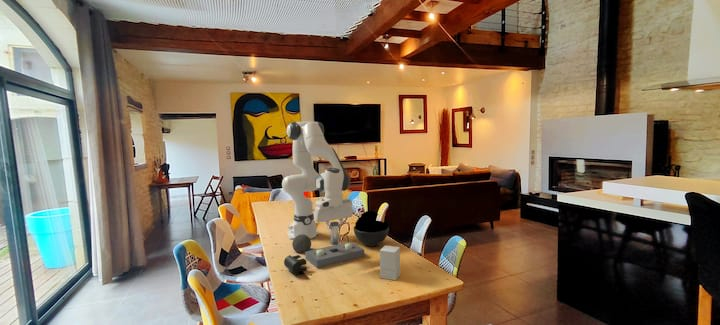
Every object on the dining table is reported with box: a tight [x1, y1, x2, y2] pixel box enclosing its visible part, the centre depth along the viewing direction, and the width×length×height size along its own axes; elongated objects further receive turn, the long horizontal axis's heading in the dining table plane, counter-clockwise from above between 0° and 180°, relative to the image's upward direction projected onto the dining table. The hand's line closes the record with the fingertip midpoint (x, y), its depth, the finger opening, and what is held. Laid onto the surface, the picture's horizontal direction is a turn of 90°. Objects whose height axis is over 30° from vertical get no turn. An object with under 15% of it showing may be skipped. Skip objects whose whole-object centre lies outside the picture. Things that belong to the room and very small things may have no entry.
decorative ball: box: [292, 234, 312, 254], centre depth 175 cm, size 10×10×10 cm
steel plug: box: [329, 221, 340, 246], centre depth 164 cm, size 4×4×11 cm
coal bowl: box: [353, 210, 390, 247], centre depth 186 cm, size 20×20×19 cm
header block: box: [304, 241, 365, 269], centre depth 165 cm, size 14×26×6 cm, turn 122°
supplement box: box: [379, 245, 401, 281], centre depth 145 cm, size 7×7×13 cm
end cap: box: [283, 254, 308, 277], centre depth 151 cm, size 10×7×7 cm
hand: (334, 228), depth 164 cm, fingers closed on steel plug, 4 cm apart
